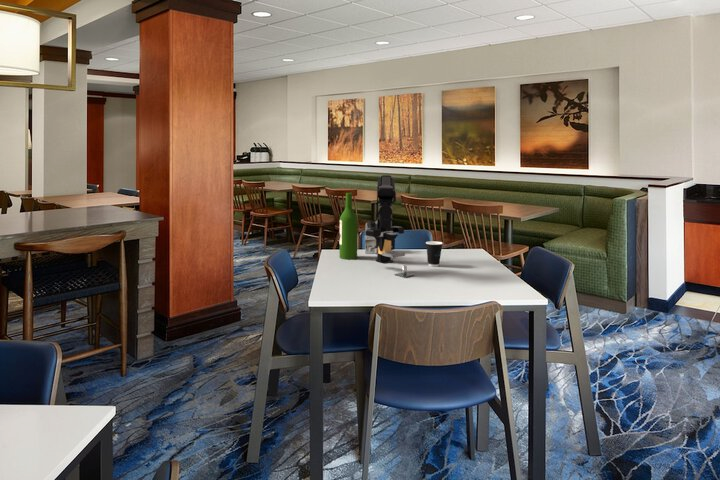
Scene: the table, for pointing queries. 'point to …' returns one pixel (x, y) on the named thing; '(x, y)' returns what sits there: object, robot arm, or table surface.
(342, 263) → the table surface
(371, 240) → the coffee box
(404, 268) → the keeper
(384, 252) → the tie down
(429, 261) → the dixie cup
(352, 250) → the wine bottle
